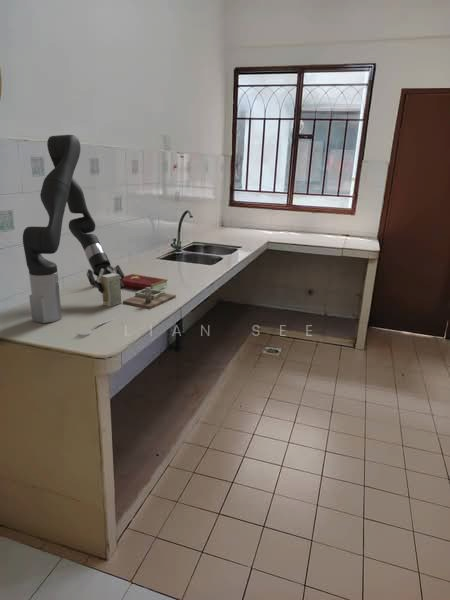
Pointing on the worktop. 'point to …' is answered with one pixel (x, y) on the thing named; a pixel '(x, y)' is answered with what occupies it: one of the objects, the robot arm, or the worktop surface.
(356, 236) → the worktop surface
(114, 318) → the fork
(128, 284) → the hardcover book
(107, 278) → the skincare box
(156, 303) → the pin board
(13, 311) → the worktop surface
